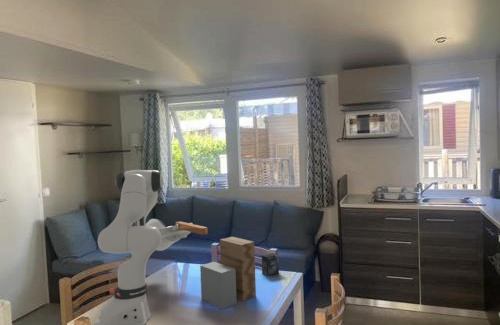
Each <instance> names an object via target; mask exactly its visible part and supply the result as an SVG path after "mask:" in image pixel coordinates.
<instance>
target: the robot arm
mask: <svg viewBox="0 0 500 325" xmlns="http://www.w3.org/2000/svg"><path fill="white" fill-rule="evenodd" d="M115 186H116V189H117V191H118V192H120V200H119V208H118V211H117V214H116V215H115V218H114V220H113V221H112V222H111V223H110V224H108V225H107V227H105V228H103V229H102V230H101V231H100V232H99V234H98V237H97V245H98V248H99V250H100V251H101V252H102V253H106V254H107V253H108V254H116V255H117V254H131V258H129V259H127V260H126V261H124V262H122V263H121V264H120V265H119V266H118V268H117V287H116V288H113V287H111V288H110V289H109V293H110V294H112V295H113V297H112V298H111V299H110V300H109V302H107V304H105V305H104V306H103V307H102V309H101V310H100V313H99V319H97V320H95V321H94V325H146V324H147V322H148V321H149V320H150V318H151V317H152V314H151V311H150V309H149V304H148V303H149V302H148V298H147V295H148V285H147V282H146V272H147V271H146V268H147V263H148V260H149V258H150V257H151V255H152V254H153V253H154V252H155V251H158V252H159V251H161V252H162V251H165V250H167V249H169V247H171V246H172V245H173V244H175V243H176V242H178V241H181V240H183V239H186V238H187V237H188V235H189V234H191V233H192V232H190V231H186V230H182V229H178V228H180V224H176V225H170V226H166V224H165V223H164V222H163V221H162V220H160V219H157V218H150V219H149V220H148V221H147V220H146V219H147V217H148V216H149V214H150V212H151V211H152V209H153V208H154V207H155V206H156V204H157V203H158V197H159V195H158V192H160V191H161V189H162V188H163V186H164V177H163V173H162V172H161V171H159V170H155V169H152V170H149V169H133V170H132V169H131V170H123V171H120V172H118V174H117V175H116V178H115ZM189 223H190V224H193V222H189Z"/></svg>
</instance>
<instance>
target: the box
mask: <svg viewBox="0 0 500 325" xmlns="http://www.w3.org/2000/svg"><path fill="white" fill-rule="evenodd" d="M279 256H280V255H279V254H277V253H274V252H271V253H266V254H262V255H261V274H262V275H264V274H265V276H266V275H267V277H268V276H273V275H277V273H278V274H280V271H279V270H280V268H279V266H280V264H279V261H280V260H279V258H280V257H279Z"/></svg>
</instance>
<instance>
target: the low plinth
mask: <svg viewBox="0 0 500 325" xmlns="http://www.w3.org/2000/svg"><path fill="white" fill-rule="evenodd" d="M199 267H200V269H199V270H200V293H201V294H200V295H201V296H200V297H201V300H202V301H203V302H206V303H209V304H211V305H214V306H215V307H218V308H220V309H221V310H223V309H226V308H229V307H232V306H233V305H237V298H236V271H235V268H232V267H229V266H226V265H223V264H221V262H220V263H219V262H216V261H211V262H208V263H207V262H206V263H204V264H200V266H199Z"/></svg>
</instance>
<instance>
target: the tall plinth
mask: <svg viewBox="0 0 500 325" xmlns="http://www.w3.org/2000/svg"><path fill="white" fill-rule="evenodd" d="M255 252H256V251H255V241H253V240H248V239H244V238H241V237H236V236H229V237H226V238H221V239H219V253H220V254H219V256H220V257H219V258H220V264H223V265H226V266H229V267H232V268H235V271H236V300H240V301H242V302H244V301H247V300H249V299H253V298H254V297H256V296H257V290H256V289H257V288H256V286H257V285H256V283H257V282H256V257H255V256H256V255H255V254H256V253H255Z"/></svg>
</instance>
